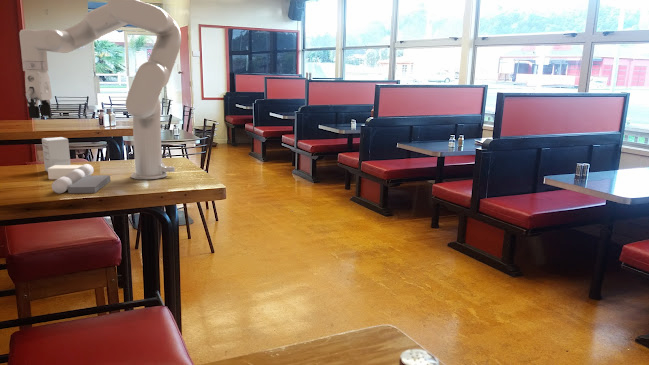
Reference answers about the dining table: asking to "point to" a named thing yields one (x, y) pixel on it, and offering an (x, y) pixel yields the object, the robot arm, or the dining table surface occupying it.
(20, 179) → the dining table surface
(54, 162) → the supplement box
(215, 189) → the dining table surface
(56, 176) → the cream hinge flap
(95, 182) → the fixed leaf
